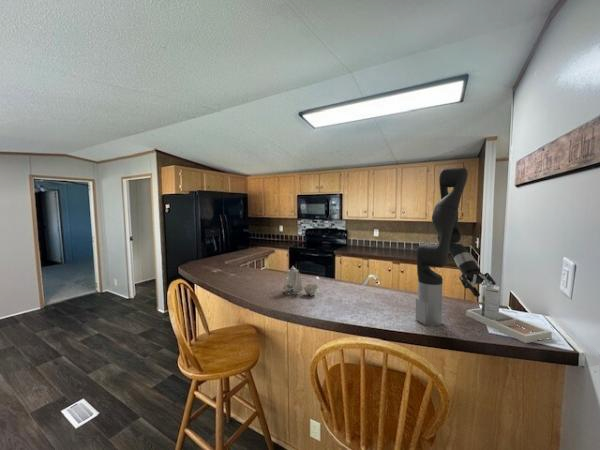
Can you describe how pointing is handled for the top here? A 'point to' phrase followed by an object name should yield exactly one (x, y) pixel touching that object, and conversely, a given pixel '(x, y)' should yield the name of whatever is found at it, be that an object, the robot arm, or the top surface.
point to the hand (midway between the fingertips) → (486, 295)
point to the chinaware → (297, 283)
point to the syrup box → (490, 302)
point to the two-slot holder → (511, 321)
